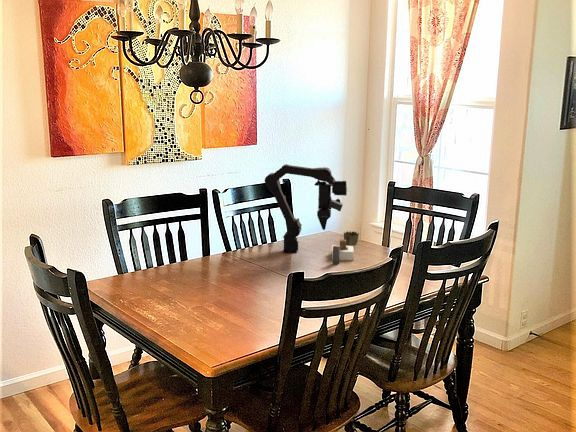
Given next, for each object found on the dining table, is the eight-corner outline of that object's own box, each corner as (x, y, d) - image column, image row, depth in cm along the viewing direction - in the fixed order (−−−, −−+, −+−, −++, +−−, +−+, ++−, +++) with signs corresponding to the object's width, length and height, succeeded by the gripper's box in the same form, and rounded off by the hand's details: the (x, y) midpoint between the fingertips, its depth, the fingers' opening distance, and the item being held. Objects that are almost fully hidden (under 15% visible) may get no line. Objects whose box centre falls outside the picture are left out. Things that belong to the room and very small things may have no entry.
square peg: (339, 257, 274) (339, 241, 272) (339, 255, 277) (339, 239, 275) (345, 257, 274) (346, 241, 272) (345, 256, 277) (346, 239, 275)
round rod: (332, 264, 264) (332, 247, 262) (332, 262, 267) (333, 245, 265) (339, 264, 263) (339, 247, 262) (339, 262, 266) (339, 245, 265)
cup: (340, 247, 290) (340, 231, 289) (353, 245, 294) (353, 230, 292) (348, 251, 284) (348, 235, 282) (361, 249, 287) (361, 233, 285)
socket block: (331, 259, 271) (331, 251, 270) (332, 253, 281) (332, 245, 280) (353, 260, 270) (353, 251, 269) (353, 254, 280) (353, 245, 279)
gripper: (342, 199, 266) (341, 232, 269) (341, 191, 284) (341, 223, 288) (317, 198, 267) (316, 232, 270) (318, 191, 285) (318, 222, 289)
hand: (324, 227), depth 279 cm, fingers open, 9 cm apart
